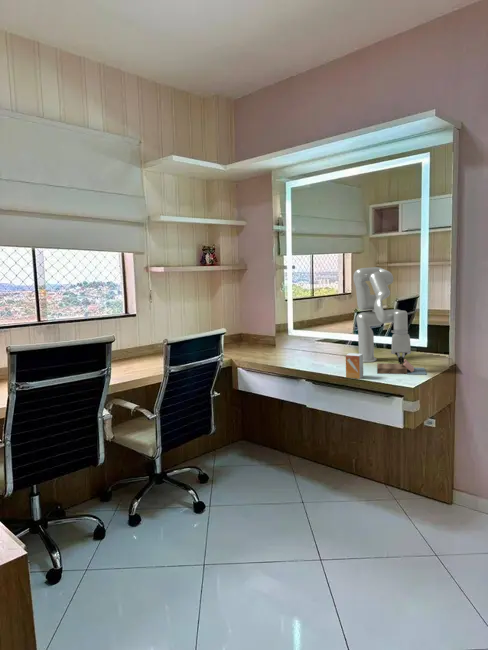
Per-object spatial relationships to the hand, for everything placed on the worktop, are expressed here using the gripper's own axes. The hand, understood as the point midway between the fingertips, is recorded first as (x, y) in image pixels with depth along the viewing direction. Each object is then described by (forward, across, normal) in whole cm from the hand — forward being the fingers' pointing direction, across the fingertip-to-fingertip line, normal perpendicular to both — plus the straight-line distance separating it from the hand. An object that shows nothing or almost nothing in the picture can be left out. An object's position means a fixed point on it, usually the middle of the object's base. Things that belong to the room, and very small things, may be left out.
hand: (401, 363), depth 250 cm
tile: (+1, +4, 0) cm, 4 cm away
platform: (+4, -5, 0) cm, 7 cm away
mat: (+4, +8, 0) cm, 9 cm away
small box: (+5, -25, -16) cm, 30 cm away
